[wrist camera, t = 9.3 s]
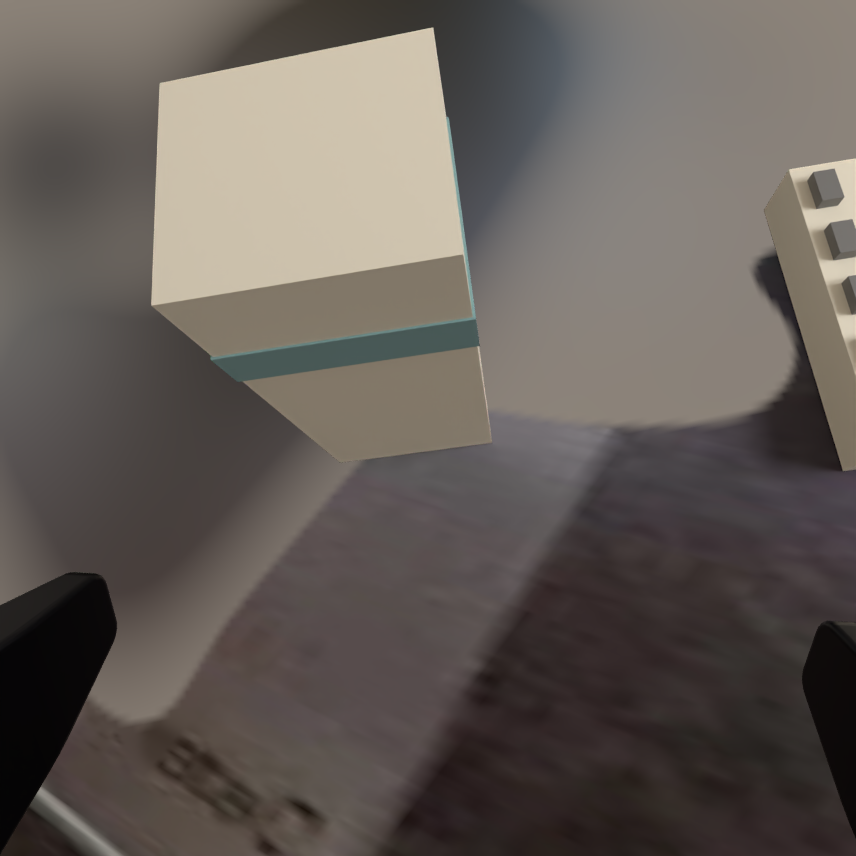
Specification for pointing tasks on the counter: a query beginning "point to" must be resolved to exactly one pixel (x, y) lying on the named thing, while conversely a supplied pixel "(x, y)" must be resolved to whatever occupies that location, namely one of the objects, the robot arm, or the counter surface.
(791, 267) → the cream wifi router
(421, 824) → the counter surface
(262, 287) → the cream box
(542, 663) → the counter surface
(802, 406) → the counter surface
